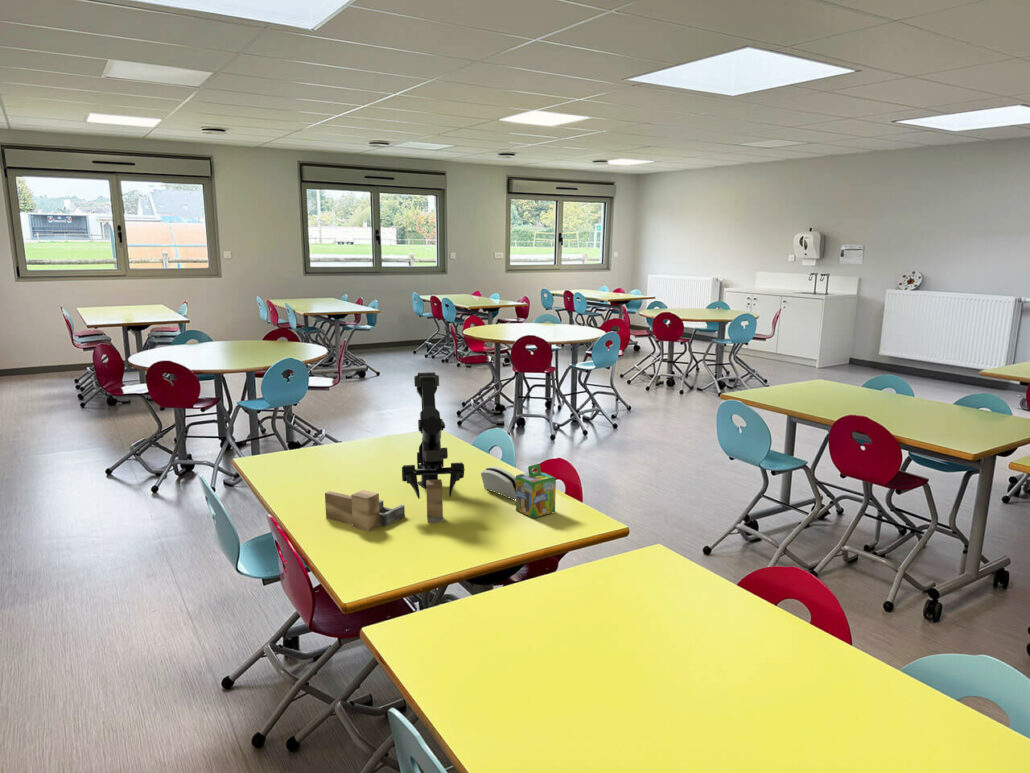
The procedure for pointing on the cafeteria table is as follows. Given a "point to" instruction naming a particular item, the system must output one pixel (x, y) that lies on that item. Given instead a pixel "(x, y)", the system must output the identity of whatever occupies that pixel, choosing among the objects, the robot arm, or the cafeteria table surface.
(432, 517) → the wooden block
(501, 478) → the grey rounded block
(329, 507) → the wooden fixture with frame
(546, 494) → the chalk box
